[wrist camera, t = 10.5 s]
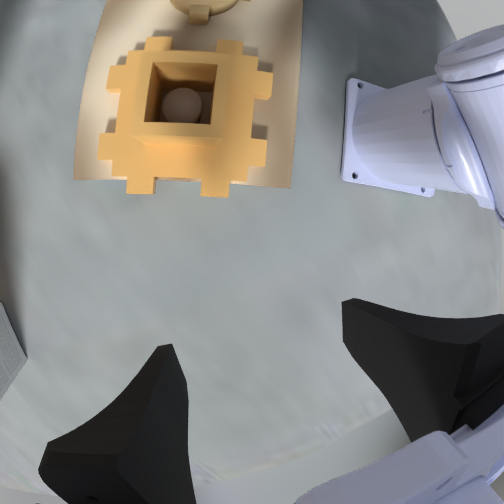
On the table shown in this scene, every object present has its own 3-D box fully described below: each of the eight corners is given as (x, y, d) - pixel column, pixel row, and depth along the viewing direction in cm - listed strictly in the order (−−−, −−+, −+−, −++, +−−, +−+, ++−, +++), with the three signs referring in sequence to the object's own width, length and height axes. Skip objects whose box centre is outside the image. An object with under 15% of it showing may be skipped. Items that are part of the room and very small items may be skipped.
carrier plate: (299, -21, 15) (317, -48, 11) (284, 187, 20) (306, 191, 16) (125, -32, 12) (116, -61, 8) (80, 179, 17) (52, 181, 13)
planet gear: (271, 52, 16) (295, 18, 11) (258, 198, 18) (280, 207, 14) (119, 44, 14) (99, 10, 9) (100, 192, 16) (68, 199, 12)
